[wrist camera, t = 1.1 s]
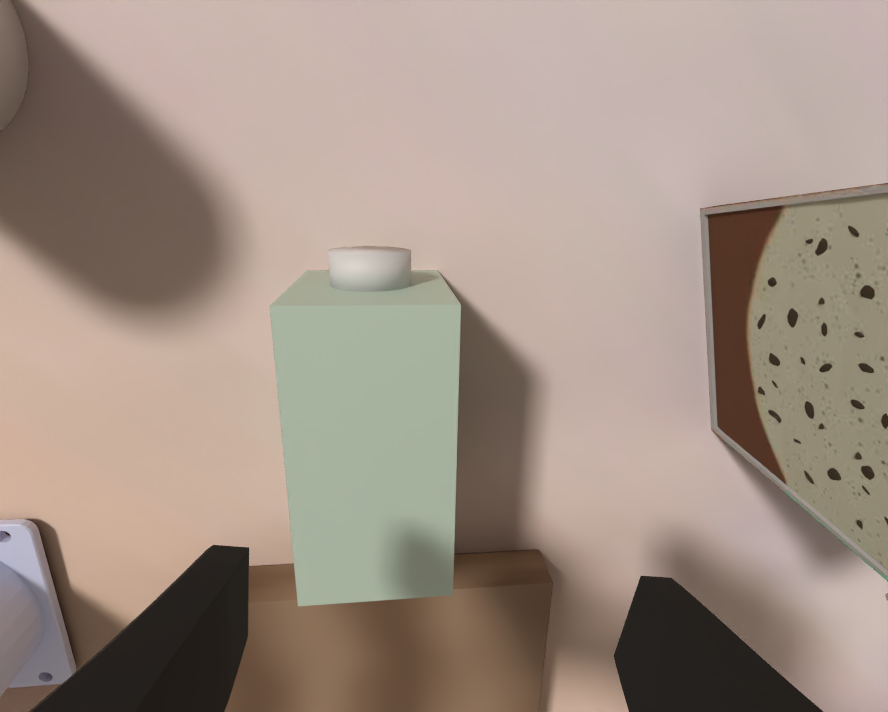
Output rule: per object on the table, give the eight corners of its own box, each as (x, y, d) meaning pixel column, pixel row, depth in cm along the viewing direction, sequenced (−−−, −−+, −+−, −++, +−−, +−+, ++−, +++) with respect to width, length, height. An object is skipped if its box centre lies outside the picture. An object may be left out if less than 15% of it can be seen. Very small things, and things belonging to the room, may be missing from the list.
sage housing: (322, 490, 20) (297, 606, 14) (305, 241, 17) (265, 263, 11) (434, 485, 21) (452, 595, 15) (437, 241, 18) (462, 264, 12)
